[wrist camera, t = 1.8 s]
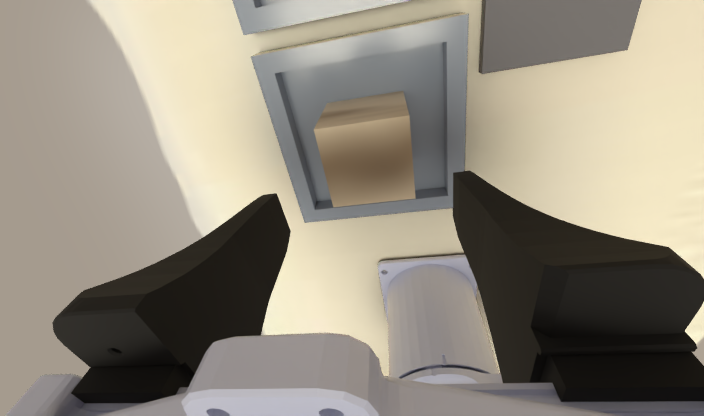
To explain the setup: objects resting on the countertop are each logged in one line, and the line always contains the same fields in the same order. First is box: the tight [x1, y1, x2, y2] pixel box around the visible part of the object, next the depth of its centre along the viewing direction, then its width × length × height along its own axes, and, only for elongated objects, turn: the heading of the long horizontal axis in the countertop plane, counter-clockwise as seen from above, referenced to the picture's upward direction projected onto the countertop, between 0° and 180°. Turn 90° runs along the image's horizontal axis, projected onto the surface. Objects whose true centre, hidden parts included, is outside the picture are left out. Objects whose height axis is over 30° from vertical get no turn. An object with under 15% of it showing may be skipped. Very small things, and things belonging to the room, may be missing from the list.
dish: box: [251, 13, 469, 223], centre depth 19 cm, size 11×11×2 cm
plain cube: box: [314, 91, 416, 207], centre depth 17 cm, size 4×4×4 cm
